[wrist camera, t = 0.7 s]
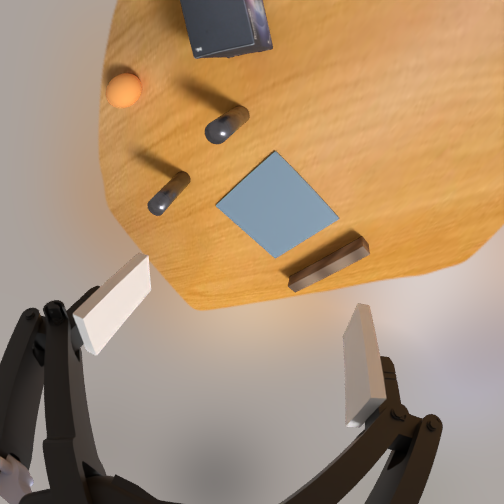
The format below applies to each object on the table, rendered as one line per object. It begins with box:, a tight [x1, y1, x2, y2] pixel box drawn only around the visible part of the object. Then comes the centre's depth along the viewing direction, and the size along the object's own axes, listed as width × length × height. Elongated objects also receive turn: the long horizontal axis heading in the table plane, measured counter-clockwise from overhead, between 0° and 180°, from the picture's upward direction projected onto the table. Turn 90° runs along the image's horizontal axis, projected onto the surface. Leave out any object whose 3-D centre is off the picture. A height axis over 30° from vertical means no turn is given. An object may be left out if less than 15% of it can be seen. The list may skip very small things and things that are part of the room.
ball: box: [106, 73, 142, 108], centre depth 31 cm, size 6×6×6 cm
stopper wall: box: [288, 237, 370, 292], centre depth 45 cm, size 16×2×2 cm, turn 138°
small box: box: [180, 0, 273, 59], centre depth 20 cm, size 11×6×10 cm, turn 11°
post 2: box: [205, 106, 249, 144], centre depth 30 cm, size 3×3×9 cm
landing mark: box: [216, 151, 339, 258], centre depth 42 cm, size 14×14×1 cm
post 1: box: [148, 171, 190, 216], centre depth 39 cm, size 3×3×9 cm
